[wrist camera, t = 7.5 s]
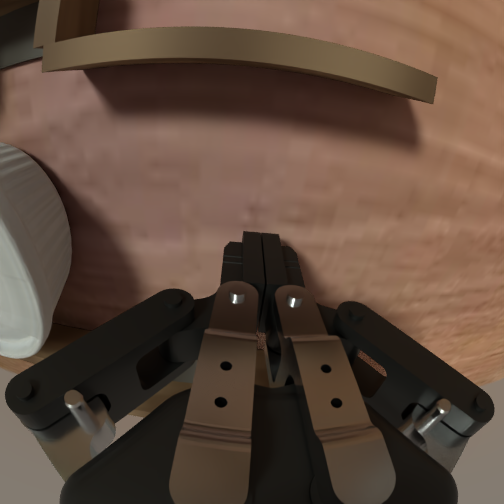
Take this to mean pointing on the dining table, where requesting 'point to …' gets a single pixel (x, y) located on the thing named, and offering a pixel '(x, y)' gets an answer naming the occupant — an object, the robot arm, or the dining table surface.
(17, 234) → the ramekin
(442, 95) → the dining table surface
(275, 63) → the box
